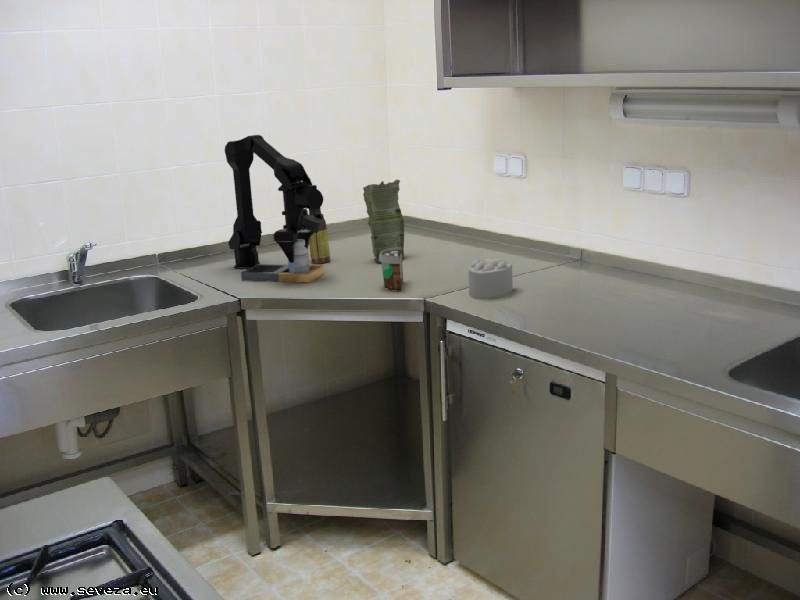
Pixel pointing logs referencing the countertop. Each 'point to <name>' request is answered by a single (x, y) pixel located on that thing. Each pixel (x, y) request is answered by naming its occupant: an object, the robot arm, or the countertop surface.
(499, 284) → the lumpy-topped squat cylinder
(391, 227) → the pouch
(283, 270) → the metal frame
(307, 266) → the pill bottle
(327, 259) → the sauce bottle
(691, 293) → the countertop surface
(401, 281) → the food container
